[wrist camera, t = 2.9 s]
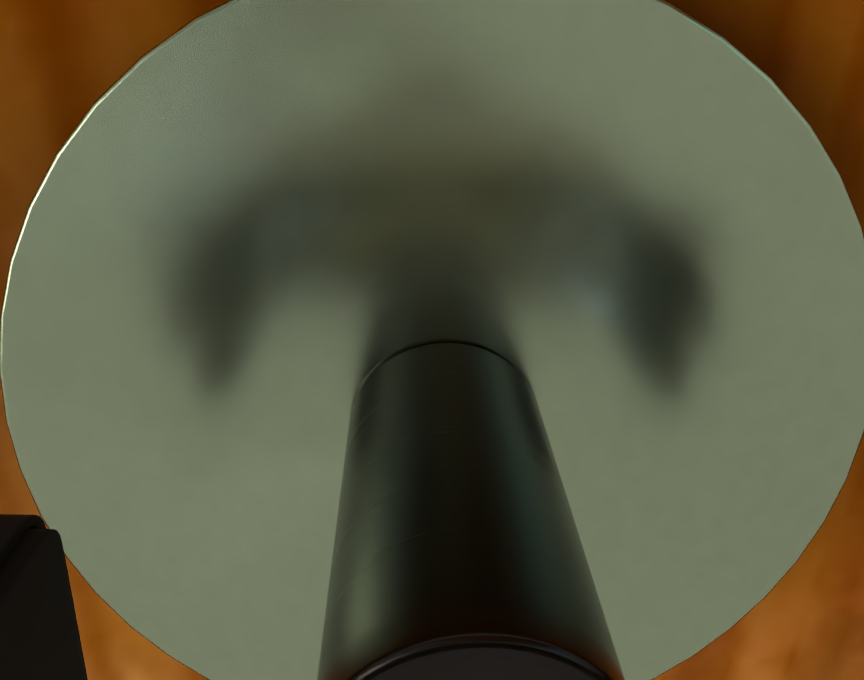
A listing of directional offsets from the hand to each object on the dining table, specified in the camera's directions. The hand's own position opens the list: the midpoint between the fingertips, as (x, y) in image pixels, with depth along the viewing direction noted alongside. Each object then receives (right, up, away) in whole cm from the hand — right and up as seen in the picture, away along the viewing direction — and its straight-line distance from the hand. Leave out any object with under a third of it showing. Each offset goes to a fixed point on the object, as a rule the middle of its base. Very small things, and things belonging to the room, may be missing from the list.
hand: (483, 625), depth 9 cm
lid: (0, +2, +4) cm, 5 cm away
